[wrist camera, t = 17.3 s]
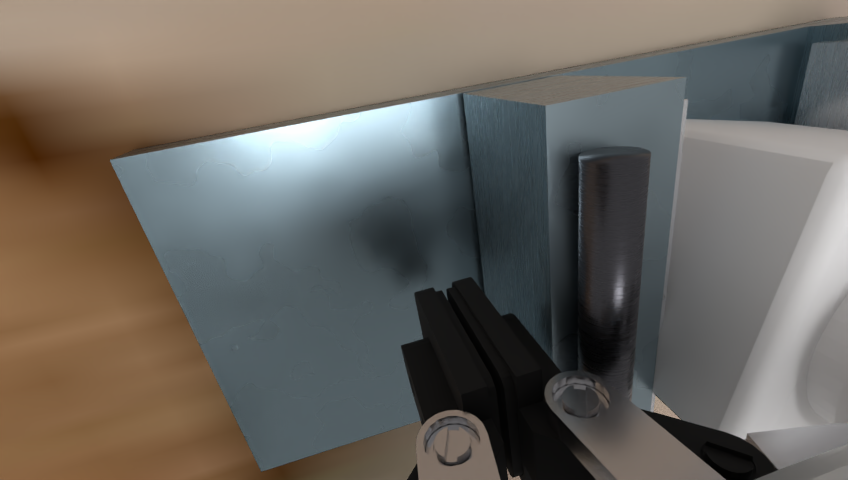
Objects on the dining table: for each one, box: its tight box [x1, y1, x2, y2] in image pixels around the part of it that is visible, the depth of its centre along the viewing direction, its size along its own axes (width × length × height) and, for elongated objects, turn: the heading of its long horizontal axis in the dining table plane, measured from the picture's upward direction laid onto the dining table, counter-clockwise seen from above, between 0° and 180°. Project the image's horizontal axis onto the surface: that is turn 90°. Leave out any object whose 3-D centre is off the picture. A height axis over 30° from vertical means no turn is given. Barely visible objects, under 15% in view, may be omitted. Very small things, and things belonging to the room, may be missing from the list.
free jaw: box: [463, 75, 688, 412], centre depth 12 cm, size 3×12×6 cm, turn 9°
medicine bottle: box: [653, 119, 848, 439], centre depth 10 cm, size 7×7×12 cm
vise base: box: [110, 17, 848, 472], centre depth 13 cm, size 25×12×6 cm, turn 99°
